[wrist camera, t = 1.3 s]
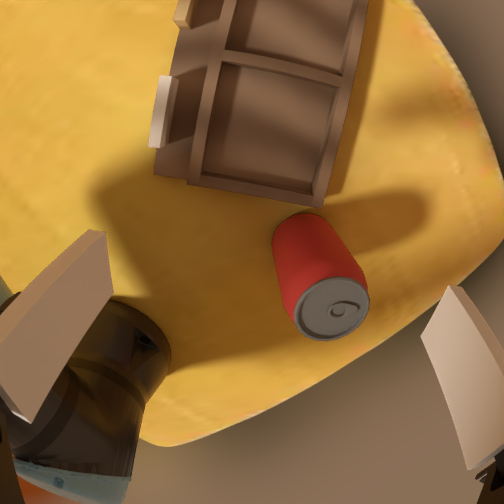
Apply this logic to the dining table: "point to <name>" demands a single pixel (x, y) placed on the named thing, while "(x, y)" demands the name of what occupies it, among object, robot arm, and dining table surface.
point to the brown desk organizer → (258, 95)
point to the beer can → (318, 278)
